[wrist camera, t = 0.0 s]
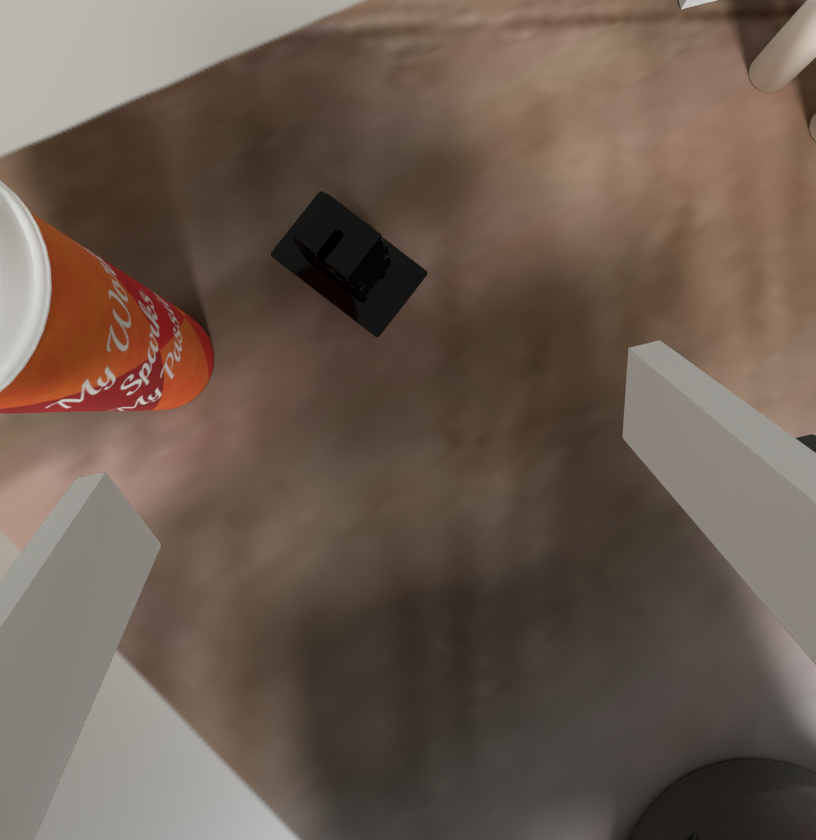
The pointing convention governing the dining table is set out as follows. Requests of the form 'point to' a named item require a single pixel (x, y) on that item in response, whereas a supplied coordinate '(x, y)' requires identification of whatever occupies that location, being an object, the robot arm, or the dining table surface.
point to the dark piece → (349, 263)
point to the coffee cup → (86, 328)
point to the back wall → (692, 3)
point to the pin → (786, 51)
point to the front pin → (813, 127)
